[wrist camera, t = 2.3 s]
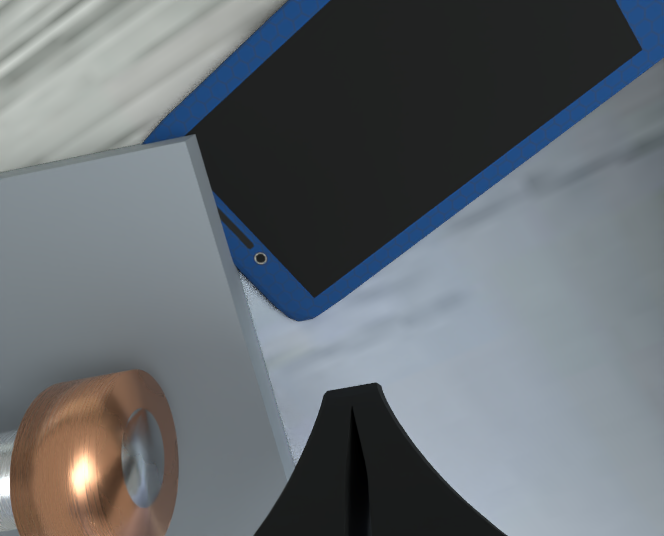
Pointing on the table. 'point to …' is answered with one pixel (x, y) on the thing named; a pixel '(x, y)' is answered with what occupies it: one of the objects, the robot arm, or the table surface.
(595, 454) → the table surface
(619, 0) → the cell phone
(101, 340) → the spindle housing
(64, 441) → the copper and silver rod
